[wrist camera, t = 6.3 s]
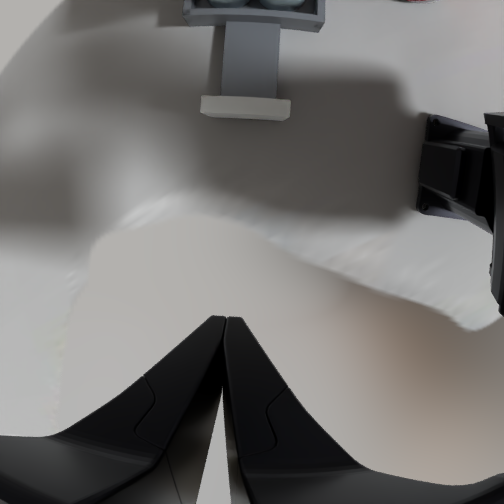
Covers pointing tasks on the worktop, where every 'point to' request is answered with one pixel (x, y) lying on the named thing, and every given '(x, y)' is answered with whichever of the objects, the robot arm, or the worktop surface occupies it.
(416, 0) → the soda can
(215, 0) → the pale blue cylinder
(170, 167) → the worktop surface
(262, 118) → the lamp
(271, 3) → the pale blue cylinder
